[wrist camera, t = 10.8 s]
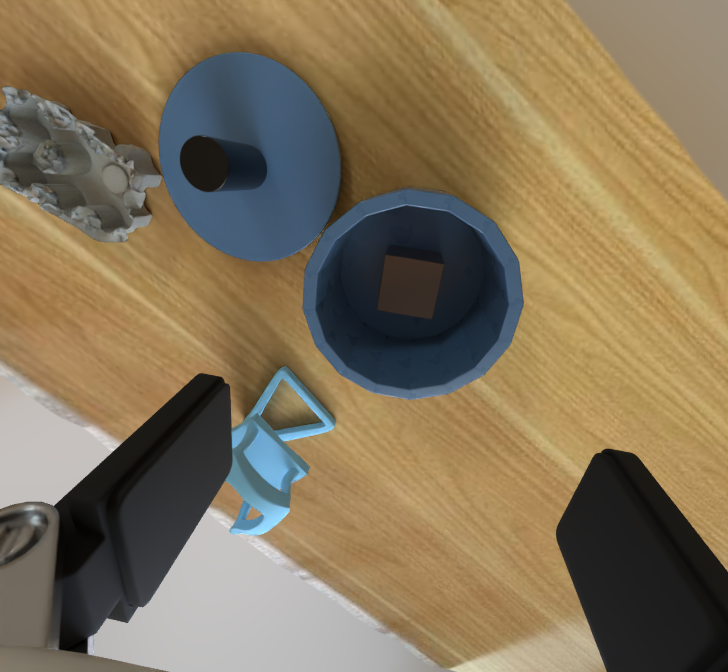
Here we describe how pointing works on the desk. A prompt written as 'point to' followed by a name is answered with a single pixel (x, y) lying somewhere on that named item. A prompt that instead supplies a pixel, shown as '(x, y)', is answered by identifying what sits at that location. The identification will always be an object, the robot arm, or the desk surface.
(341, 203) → the desk surface
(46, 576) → the robot arm
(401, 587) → the desk surface
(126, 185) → the egg carton
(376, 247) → the tin
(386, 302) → the block
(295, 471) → the chair
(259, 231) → the tin lid
